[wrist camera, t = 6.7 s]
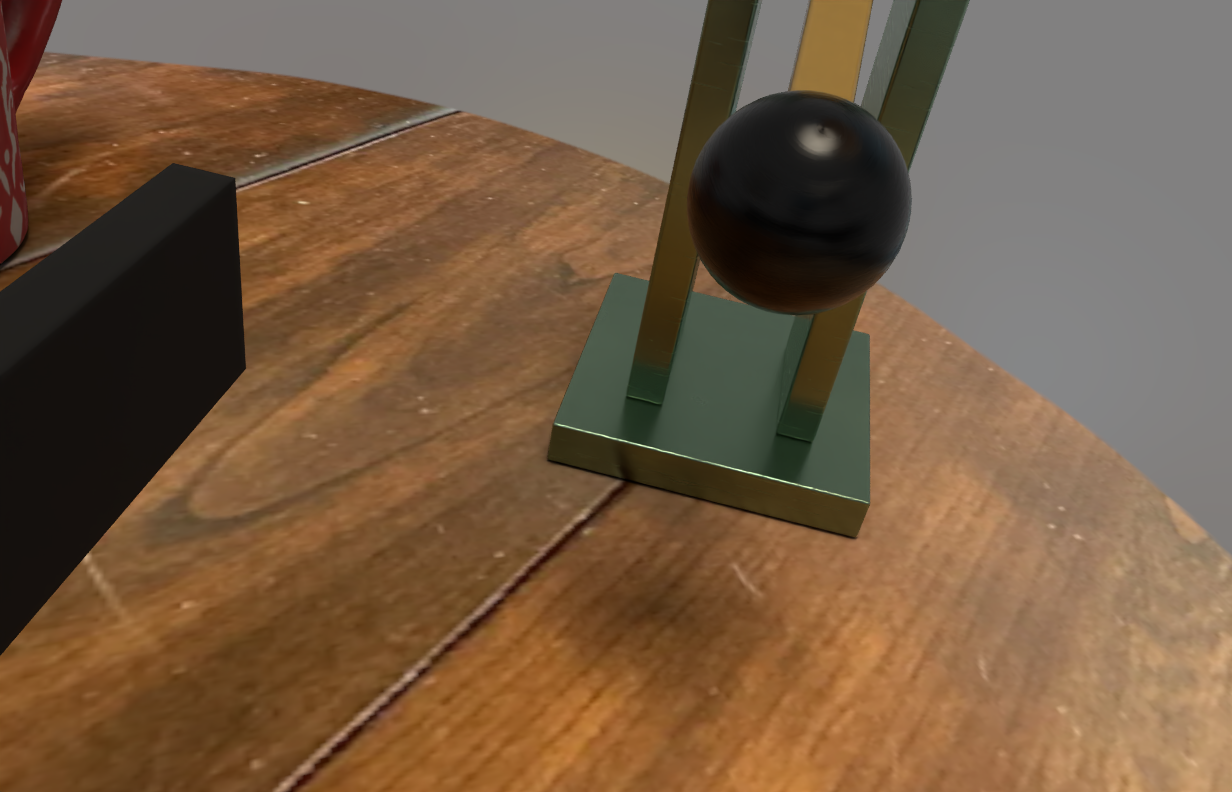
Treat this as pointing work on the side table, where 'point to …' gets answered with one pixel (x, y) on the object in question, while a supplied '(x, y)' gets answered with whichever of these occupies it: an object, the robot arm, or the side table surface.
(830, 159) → the switch lever
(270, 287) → the side table surface
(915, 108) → the switch bracket
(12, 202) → the mug
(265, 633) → the side table surface
